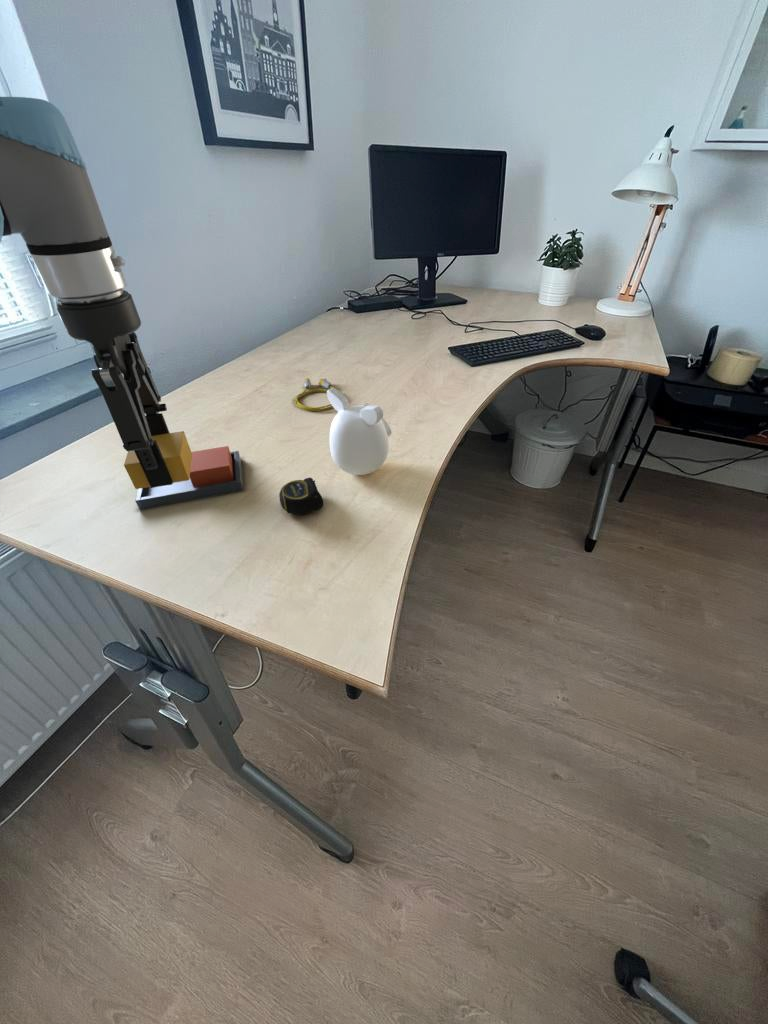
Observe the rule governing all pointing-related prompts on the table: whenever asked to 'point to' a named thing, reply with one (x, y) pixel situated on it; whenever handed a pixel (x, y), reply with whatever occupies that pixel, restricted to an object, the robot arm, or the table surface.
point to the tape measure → (300, 497)
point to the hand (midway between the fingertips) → (164, 469)
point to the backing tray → (189, 489)
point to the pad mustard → (173, 454)
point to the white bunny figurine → (357, 436)
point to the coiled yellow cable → (307, 386)
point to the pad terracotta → (211, 467)
